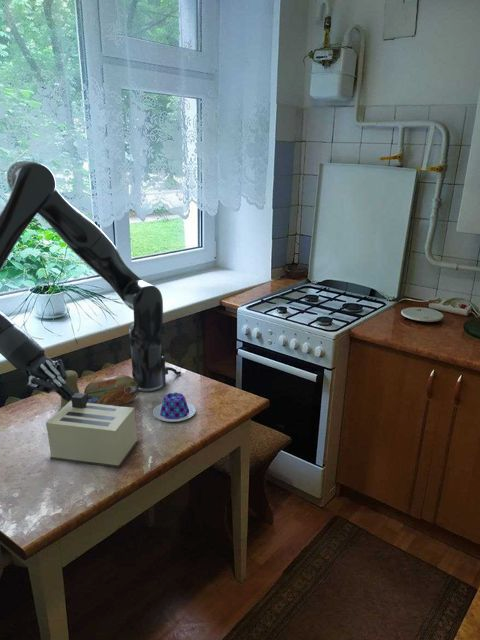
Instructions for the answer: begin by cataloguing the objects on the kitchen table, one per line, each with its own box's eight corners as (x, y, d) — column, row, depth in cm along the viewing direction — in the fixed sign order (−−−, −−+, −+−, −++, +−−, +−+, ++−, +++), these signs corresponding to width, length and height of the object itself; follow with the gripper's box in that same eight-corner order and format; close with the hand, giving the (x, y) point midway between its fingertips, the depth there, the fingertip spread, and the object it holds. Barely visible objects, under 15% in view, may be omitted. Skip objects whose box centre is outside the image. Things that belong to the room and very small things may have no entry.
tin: (86, 411, 140) (83, 385, 136) (84, 406, 142) (81, 380, 139) (139, 401, 146) (137, 375, 143) (136, 397, 149) (135, 371, 146)
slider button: (77, 402, 124) (76, 392, 122) (87, 403, 123) (85, 393, 122) (72, 407, 121) (71, 397, 120) (82, 408, 121) (81, 398, 120)
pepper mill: (86, 402, 144) (82, 368, 140) (77, 413, 139) (73, 377, 135) (66, 401, 145) (62, 367, 141) (56, 411, 139) (51, 376, 135)
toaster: (77, 431, 130) (72, 397, 126) (140, 438, 128) (137, 404, 124) (50, 459, 118) (44, 422, 114) (119, 468, 116) (115, 431, 112)
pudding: (148, 407, 143) (147, 391, 141) (187, 399, 148) (187, 384, 146) (160, 427, 133) (159, 410, 131) (202, 418, 138) (201, 401, 136)
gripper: (9, 348, 112) (66, 402, 114) (42, 329, 124) (93, 378, 127) (-8, 367, 114) (48, 419, 117) (26, 347, 126) (76, 394, 129)
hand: (71, 398), depth 122 cm, fingers closed
